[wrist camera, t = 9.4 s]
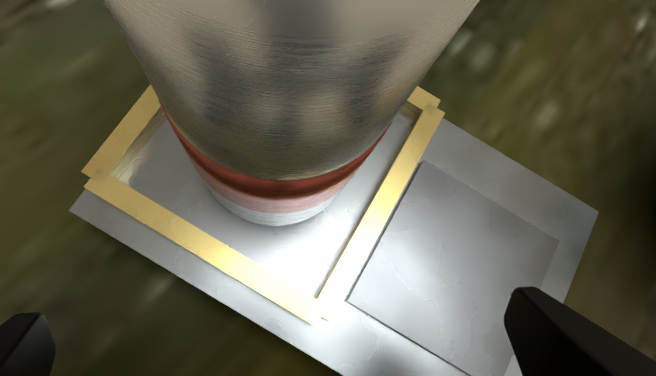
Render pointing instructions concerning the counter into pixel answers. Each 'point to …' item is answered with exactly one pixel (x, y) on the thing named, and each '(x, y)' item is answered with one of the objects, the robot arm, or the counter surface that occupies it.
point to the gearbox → (356, 244)
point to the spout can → (284, 88)
